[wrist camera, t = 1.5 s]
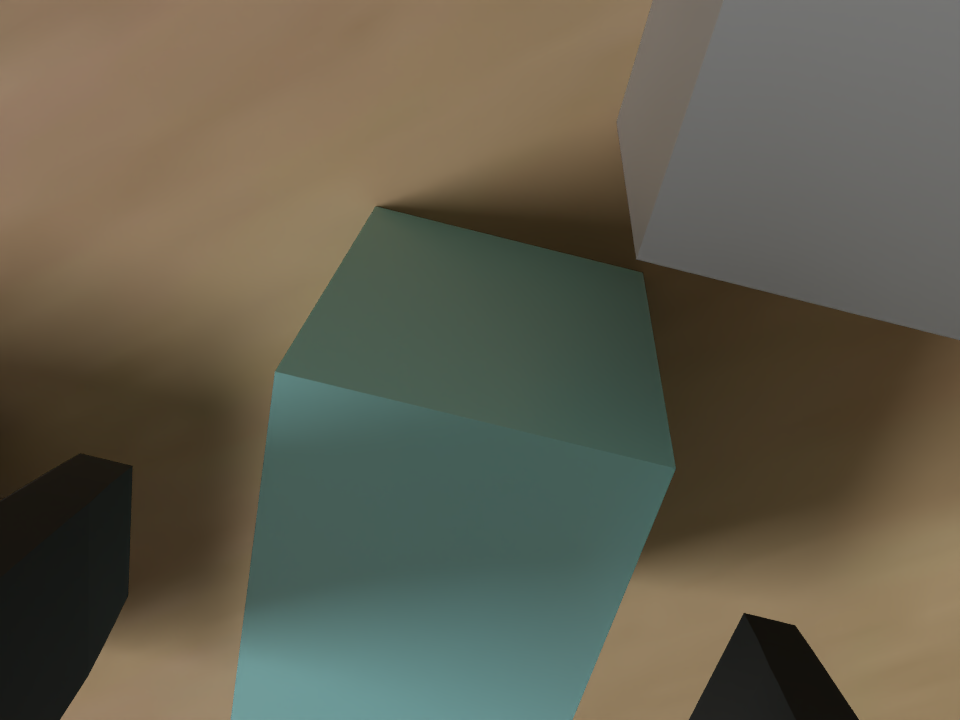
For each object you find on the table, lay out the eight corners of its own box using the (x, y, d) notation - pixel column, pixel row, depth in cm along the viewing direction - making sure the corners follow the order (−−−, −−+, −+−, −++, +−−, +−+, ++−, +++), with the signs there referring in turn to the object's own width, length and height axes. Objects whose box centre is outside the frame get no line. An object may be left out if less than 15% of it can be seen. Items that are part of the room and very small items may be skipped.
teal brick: (539, 570, 16) (526, 832, 12) (322, 518, 16) (225, 762, 11) (642, 270, 13) (675, 468, 9) (377, 204, 13) (274, 371, 9)
